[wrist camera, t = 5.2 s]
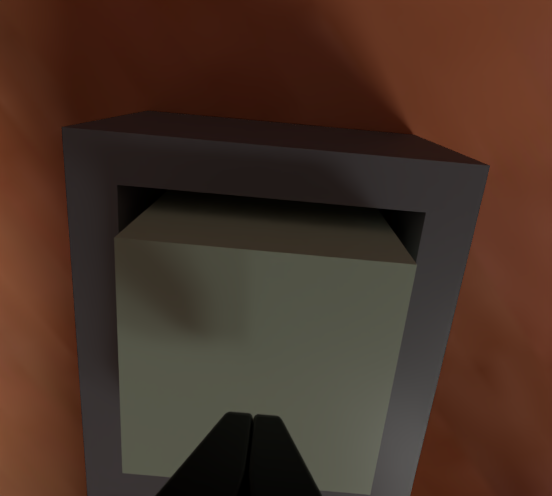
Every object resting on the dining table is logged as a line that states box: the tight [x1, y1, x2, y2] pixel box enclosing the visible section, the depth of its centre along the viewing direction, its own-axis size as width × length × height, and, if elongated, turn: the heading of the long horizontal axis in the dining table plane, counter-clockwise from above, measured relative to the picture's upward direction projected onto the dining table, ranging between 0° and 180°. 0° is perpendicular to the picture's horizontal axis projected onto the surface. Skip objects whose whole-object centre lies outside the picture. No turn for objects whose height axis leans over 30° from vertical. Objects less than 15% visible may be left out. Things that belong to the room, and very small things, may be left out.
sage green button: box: [114, 190, 417, 495], centre depth 10 cm, size 5×5×4 cm
